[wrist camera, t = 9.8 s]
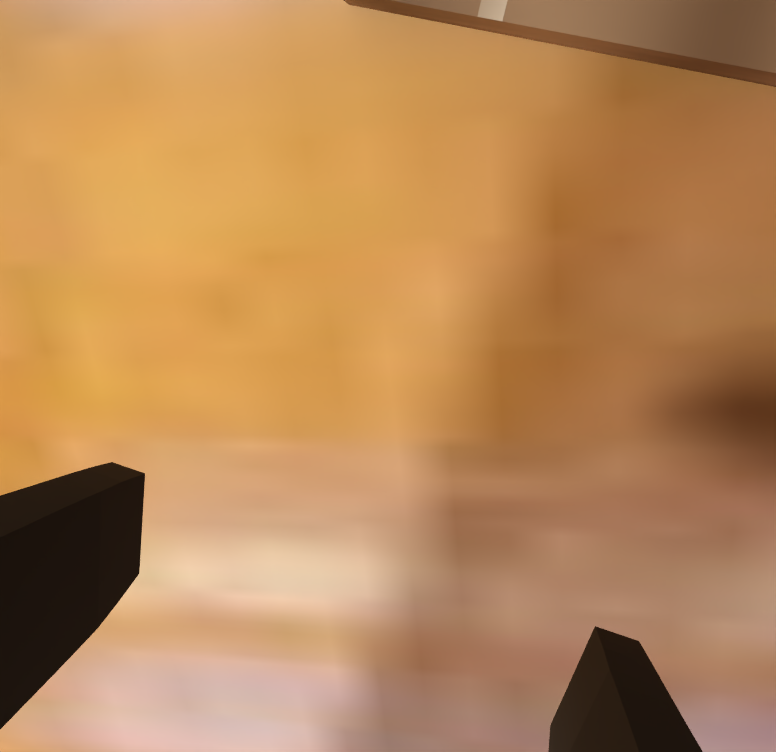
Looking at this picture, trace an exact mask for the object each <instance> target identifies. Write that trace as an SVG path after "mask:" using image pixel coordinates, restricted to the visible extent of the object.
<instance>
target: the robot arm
mask: <svg viewBox="0 0 776 752" xmlns="http://www.w3.org/2000/svg"><path fill="white" fill-rule="evenodd" d="M144 481H145V473H142V472H139V471H136V470H133V469H130V468H127V467H124V466H121V465H118V464H116V463H113V462H111V463H107V464H103V465H99V466H95V467H91V468H88V469H84V470H81V471H78V472H74V473H71V474H68V475H65V476H61V477H58V478H55V479H52V480H49V481H45V482H42V483H39V484H36V485H33V486H30V487H27V488H24V489H20V490H17V491H14V492H11V493H8V494H4V495H1V496H0V729H1V728H2V727H3V726H4V725H5V724H6V723H7V722H8V721H9V720H10V719H11V718H12V717H13V716H14V715H15V714H16V713H17V712H18V711H19V710H20V708H21V707H22V706H23V705H24V704H25V703H26V702H27V701H28V700H29V699H30V698H31V697H32V696H33V695H34V694H35V693H36V692H37V691H38V690H39V689H40V688H41V687H42V686H43V685H44V684H45V683H46V682H47V681H48V680H49V679H50V678H51V677H52V676H53V675H54V674H55V673H56V671H57V670H58V669H59V668H60V667H61V666H62V665H63V664H64V663H65V662H66V661H67V660H68V659H69V658H70V657H71V656H72V655H73V654H74V653H75V652H76V651H77V650H78V648H79V647H80V646H81V645H82V644H83V643H84V642H85V641H86V640H87V639H88V638H89V637H90V636H91V635H92V634H93V633H94V631H95V630H96V629H97V628H98V627H99V626H100V625H101V623H102V622H103V621H104V619H105V618H106V617H107V616H108V614H109V613H110V612H111V610H112V609H113V608H114V607H115V605H116V604H117V603H118V601H119V600H120V599H121V597H122V596H123V595H124V593H125V592H126V591H127V589H128V588H129V587H130V585H131V584H132V582H133V581H134V580H135V578H136V577H137V576H138V574H139V567H140V550H141V533H142V515H143V498H144ZM549 752H702V750H701V748H700V746H699V745H698V743H697V741H696V740H695V738H694V736H693V735H692V733H691V731H690V729H689V728H688V726H687V724H686V722H685V721H684V719H683V717H682V716H681V714H680V712H679V710H678V709H677V707H676V705H675V703H674V702H673V700H672V698H671V696H670V695H669V693H668V691H667V689H666V688H665V686H664V684H663V682H662V681H661V679H660V677H659V675H658V673H657V672H656V670H655V668H654V666H653V665H652V663H651V661H650V659H649V658H648V656H647V654H646V653H645V651H644V649H643V647H642V646H641V644H640V642H639V641H637V640H634V639H631V638H628V637H625V636H622V635H619V634H616V633H613V632H610V631H607V630H604V629H601V628H598V627H596V626H595V628H594V630H593V632H592V634H591V637H590V639H589V641H588V643H587V645H586V648H585V650H584V652H583V654H582V657H581V659H580V661H579V663H578V665H577V668H576V670H575V672H574V674H573V677H572V679H571V681H570V683H569V685H568V688H567V690H566V692H565V694H564V697H563V699H562V701H561V703H560V705H559V708H558V710H557V712H556V714H555V716H554V719H553V721H552V723H551V726H550V739H549Z"/></svg>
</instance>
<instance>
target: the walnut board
mask: <svg viewBox="0 0 776 752" xmlns="http://www.w3.org/2000/svg"><path fill="white" fill-rule="evenodd" d="M344 1H345V2H347V3H348V4H349V5H354V6H359V7H365V8H370V9H375V10H380V11H385V12H391V13H396V14H401V15H406V16H411V17H417V18H422V19H427V20H432V21H437V22H443V23H448V24H453V25H458V26H463V27H469V28H474V29H479V30H484V31H489V32H495V33H500V34H505V35H510V36H515V37H520V38H526V39H531V40H536V41H541V42H546V43H552V44H557V45H562V46H567V47H572V48H578V49H583V50H588V51H593V52H598V53H604V54H609V55H614V56H619V57H624V58H630V59H635V60H640V61H645V62H650V63H656V64H661V65H666V66H671V67H676V68H682V69H687V70H692V71H697V72H702V73H708V74H713V75H718V76H723V77H728V78H734V79H739V80H744V81H749V82H754V83H759V84H765V85H770V86H775V87H776V0H344Z"/></svg>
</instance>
